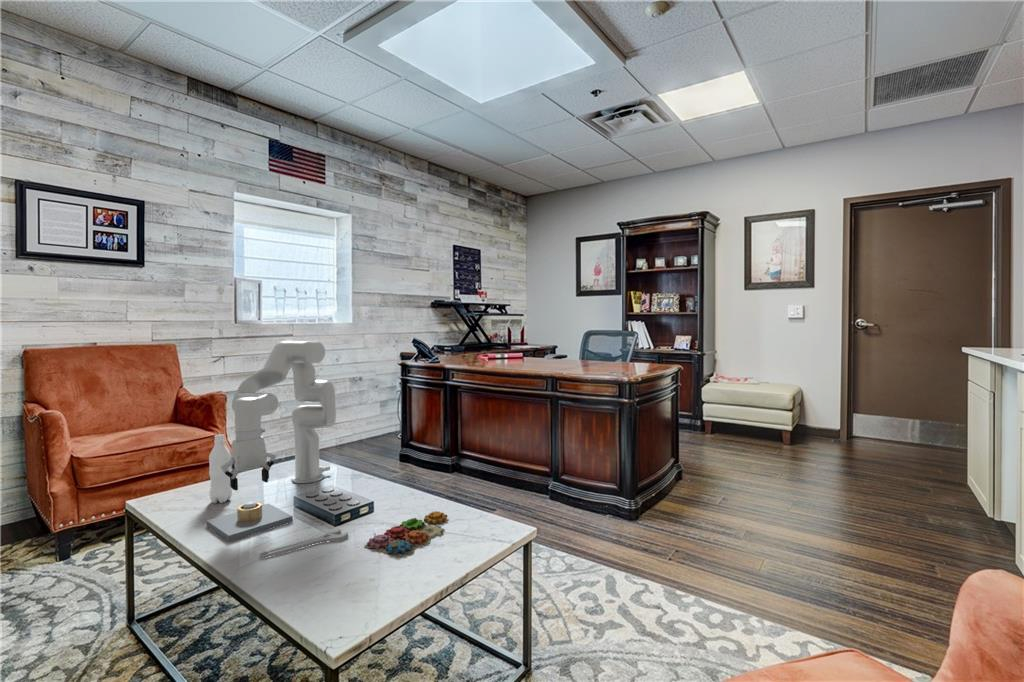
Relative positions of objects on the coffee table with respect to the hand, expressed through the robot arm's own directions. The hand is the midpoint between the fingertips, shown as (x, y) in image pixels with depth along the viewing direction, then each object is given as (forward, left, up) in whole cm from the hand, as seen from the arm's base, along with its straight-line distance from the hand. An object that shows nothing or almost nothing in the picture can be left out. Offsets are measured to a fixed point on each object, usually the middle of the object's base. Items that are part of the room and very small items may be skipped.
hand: (250, 485), depth 168 cm
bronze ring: (0, 0, -11) cm, 11 cm away
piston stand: (0, 0, -13) cm, 13 cm away
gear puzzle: (-31, +48, -14) cm, 59 cm away
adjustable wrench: (-4, +29, -14) cm, 32 cm away
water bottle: (-2, -30, -13) cm, 32 cm away
